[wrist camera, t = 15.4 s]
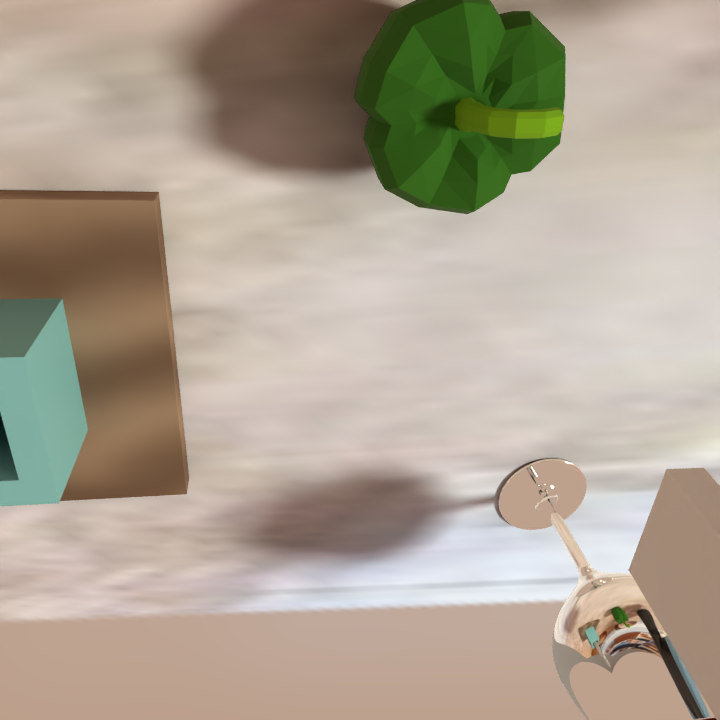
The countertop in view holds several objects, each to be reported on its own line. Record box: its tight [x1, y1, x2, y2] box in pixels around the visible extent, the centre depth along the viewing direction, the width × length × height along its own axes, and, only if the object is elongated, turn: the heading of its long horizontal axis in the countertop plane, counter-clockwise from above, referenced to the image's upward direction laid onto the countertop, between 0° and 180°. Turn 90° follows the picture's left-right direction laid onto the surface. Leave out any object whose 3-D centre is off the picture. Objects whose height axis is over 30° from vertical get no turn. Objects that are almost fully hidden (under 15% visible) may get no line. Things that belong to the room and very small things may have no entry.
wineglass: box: [498, 459, 717, 720], centre depth 37 cm, size 8×8×18 cm
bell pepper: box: [354, 0, 565, 214], centre depth 26 cm, size 8×8×10 cm
